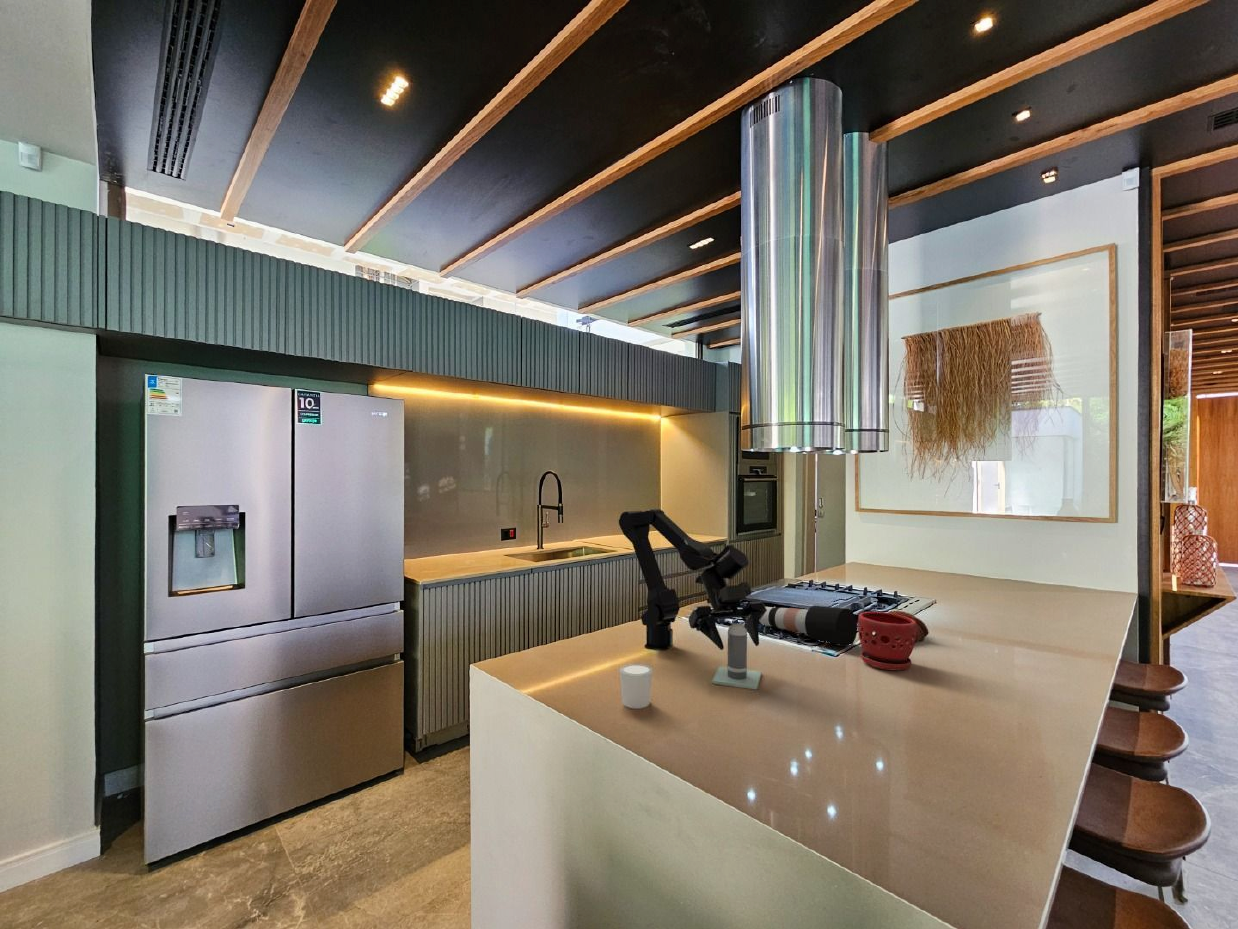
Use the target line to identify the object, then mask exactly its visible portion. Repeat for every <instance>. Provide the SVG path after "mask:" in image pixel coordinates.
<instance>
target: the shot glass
mask: <svg viewBox="0 0 1238 929" xmlns="http://www.w3.org/2000/svg"><path fill="white" fill-rule="evenodd" d="M619 675H620V677H619V678H620V688H621V689H620V690H621V700H622V701H621V702H622V705H623V706H625V707H626V708H630V709H644V708H646V707H648V706H649V705H650V701H651V700H650V697H651V688H652V678H653V668H652V667H651V666H649V665H646V664H640V663H639V664H638V663H632V664H626V665H623V666H621V667H620V669H619Z"/></svg>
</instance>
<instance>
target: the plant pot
mask: <svg viewBox="0 0 1238 929" xmlns="http://www.w3.org/2000/svg"><path fill="white" fill-rule="evenodd" d="M857 619H858V620H857V633H858V638H859V642H860V645H861V648H862V649H863V650H862V651H861V652H860V654H859V656H860V659H862V661H863V662H864V663H866V664H867V665H869V666H873V667H872V668H878V669H882V670H887V671H901V670H906V669H908V668H909V667H910V666H911V665H912V659H911V658H910V656H911V655H912V653H913V651H914V647H915V643H914V642H915V636H916V622H915V621H914V620H913V619H911V618H908V617H905V616H901V615H897V614H891V613H888V612H882V611H864V612H860V613H859V614H858V618H857ZM894 623H896V624H894ZM873 632H874V634H873ZM896 636H899V637H900V638H898V639H897V638H895V637H896Z"/></svg>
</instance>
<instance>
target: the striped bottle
mask: <svg viewBox="0 0 1238 929" xmlns="http://www.w3.org/2000/svg"><path fill="white" fill-rule="evenodd" d="M765 607H766V609H767V611H766V612H765V614H764V615H763V616H762V618H761V619H760V620H759V622H760V623H761V625H762V626H764V625H765V626H764V627H769V626H772V627H771V628H774V627H775V629H779V630H783V629H786V630H785V631H788V632H790V631H793V632H792V633H796V632H800V633H799V634H802V633H804V635H807V637H808V638H809V639H810V638H812V639H816V640H820V641H827V642H830V643H834V644H833V645H836V644H840V645H839V646H842V645H849V644H851V645H853V643H854V642H855V640H856V638H857V634H858V620H857V618H856V615H855V613H854V612H853V610H852V609H849V608H843V607H842V608H841V607H833V606H823V605H815V604H814V605H812V606H811V607H809V608H808V609H803V608H796V607H795V608H794V607H789V608H788V607H776V606H775V607H772V606H771V607H770V606H765ZM830 643H829V644H830ZM849 646H850V645H849Z"/></svg>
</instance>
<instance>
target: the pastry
mask: <svg viewBox="0 0 1238 929" xmlns="http://www.w3.org/2000/svg"><path fill="white" fill-rule="evenodd" d="M887 613H891V614H897V615H901V616H905V617H908V618H911V619H913V620H914V621H915V622H916V636H915V642H914V644H917V643H922V642H923V641H924V640H925V638H926V637H927V636H928V635H929V634H930V632H929V629H928V627H927V625H926V624H925V622H923V621H922V619H920V618H918V617H916V616H915V615H913V614H911V613H909V612H905V611H901V610H892V611H891V610H890V611H888V612H887ZM894 624H896V623H894ZM895 638H897V639H898V638H900V637H899V636H896V637H895Z"/></svg>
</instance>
